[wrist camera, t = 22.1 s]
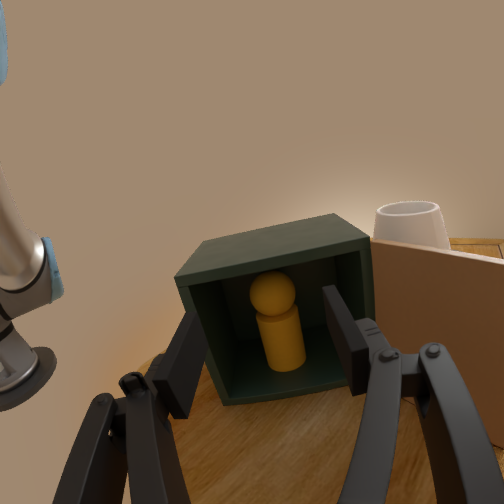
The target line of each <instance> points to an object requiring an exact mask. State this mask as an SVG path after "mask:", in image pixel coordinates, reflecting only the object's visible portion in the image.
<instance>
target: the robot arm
mask: <svg viewBox="0 0 504 504" xmlns="http://www.w3.org/2000/svg"><path fill="white" fill-rule="evenodd" d="M7 68H8V57H7V35H6V25H5V18H4V12H3V7H2V3H1V0H0V85H2V84H3V83H4V81H5V79H6V76H7ZM322 290H323V298H324V305H325V313H326V321H327V327H328V329H329V332H330V335H331V337H332V340H333V343H334V345H335V348H336V351H337V354H338V356H339V359H340V362H341V365H342V368H343V370H344V373H345V376H346V379H347V382H348V385H349V388H350V391H351V393H352V396H357V395H360V394H364V393H367V394H366V399H365V404H364V409H363V414H362V419H361V423H360V428H359V432H358V436H357V440H356V444H355V448H354V452H353V455H352V459H351V462H350V466H349V469H348V472H347V476H346V479H345V482H344V485H343V488H342V491H341V494H340V497H339V500H338V502H337V504H385V499H386V495H387V491H388V486H389V482H390V477H391V471H392V466H393V460H394V454H395V447H396V440H397V432H398V423H399V412H400V399H401V398H405V397H413V398H414V402H415V405H416V409H417V412H418V416H419V419H420V423H421V427H422V431H423V435H424V439H425V443H426V447H427V451H428V456H429V460H430V465H431V470H432V475H433V481H434V486H435V492H436V499H437V504H504V480H503V477H502V474H501V470H500V467H499V464H498V461H497V458H496V455H495V452H494V450H493V447H492V444H491V442H490V439H489V436H488V434H487V431H486V429H485V426H484V424H483V422H482V419H481V417H480V415H479V412H478V410H477V408H476V406H475V403H474V401H473V399H472V397H471V395H470V393H469V391H468V389H467V387H466V385H465V383H464V381H463V379H462V377H461V375H460V373H459V371H458V369H457V367H456V365H455V363H454V361H453V360H452V358H451V356H450V354H449V352H448V350H447V349H446V347H445V346H444V345H442V344H440V343H435V342H433V343H427V344H425V345H423V346H422V347H421V348H420V350H419V353H415V354H401V352H400V351H399V350H398V349H396V348H394V347H391V346H390V344H389V343H388V341H387V339H386V338H385V336H384V335H383V333H382V332H381V330H380V329H379V328H378V326H377V324H376V323H375V321H373V320H371V319H370V318H364V319H360V320H356V321H354V319H353V317H352V315H351V313H350V312H349V310H348V308H347V306H346V304H345V303H344V301H343V299H342V297H341V296H340V294H339V292H338V290H337V289H336V287H335V285H330V286H326V287H322ZM63 293H64V288H63V284H62V281H61V277H60V274H59V271H58V267H57V262H56V259H55V255H54V251H53V247H52V243H51V240H50V238H49V237H45V238H44V237H43V238H40V237H39V236H38V235H37V234H36V233H35V232H34V231H32V230H29V229H26V227H25V225H24V223H23V220H22V218H21V216H20V213H19V211H18V209H17V206H16V204H15V201H14V199H13V196H12V194H11V191H10V189H9V186H8V183H7V181H6V178H5V175H4V172H3V169H2V166H1V163H0V395H2V394H6V393H9V392H11V391H13V390H15V389H17V388H18V387H20V386H21V385H23V384H24V383H25V382H26V381H27V380H28V379H29V378H30V377H31V376H32V375H33V374H34V373H35V371H36V370H37V368H38V366H39V362H40V361H39V358H38V356H37V354H36V352H35V351H34V350H33V349H32V348H31V347H30V346H29V345H28V344H27V342H26V341H25V340H24V339H23V338H22V337H21V336H20V335H19V333H18V332H17V331H16V330H15V328H14V326H13V324H12V321H11V320H12V319H14V318H16V317H18V316H20V315H23V314H25V313H27V312H29V311H32V310H34V309H36V308H38V307H41V306H43V305H45V304H48V303H49V304H51V303H52V302H53V301H54V300H56V299H58V298H60V297H61V296H62V295H63ZM208 347H209V345H208V342H207V340H206V337H205V334H204V331H203V329H202V326H201V323H200V320H199V317H198V314H197V311H194V312H188V313H185V315H184V317H183V319H182V321H181V322H180V324H179V326H178V328H177V330H176V332H175V334H174V336H173V338H172V340H171V342H170V344H169V346H168V348H167V350H166V352H165V354H159V355H158V356H157V357H155V358H154V359H153V361H152V363H151V365H150V367H149V369H148V371H147V372H146V374H145V376H144V377H143V375H142V374H141V373H140V372H131V373H128V374H126V375H125V376H123V377H122V378H121V379H120V380H119V385H120V387H121V389H122V390H123V392H124V394H125V395H126V397H123V398H118V399H114V398H113V396H112V395H111V394H110V393H102V394H99V395H97V396H96V397H95V398H94V399H93V400H92V402H91V404H90V406H89V409H88V411H87V413H86V416H85V418H84V420H83V422H82V425H81V427H80V430H79V432H78V434H77V437H76V439H75V442H74V444H73V447H72V449H71V452H70V454H69V458H68V460H67V462H66V465H65V468H64V471H63V473H62V476H61V479H60V482H59V485H58V488H57V491H56V494H55V497H54V500H53V503H52V504H122V499H123V494H124V488H125V483H126V477H127V473H128V476H129V487H130V496H131V504H191V502H190V498H189V495H188V492H187V488H186V485H185V481H184V477H183V474H182V470H181V466H180V462H179V458H178V454H177V450H176V446H175V441H174V437H173V432H172V427H171V423H170V421H169V420H168V415H169V412H170V413H171V415H172V417H173V418H174V419H188V417H189V413H190V410H191V406H192V403H193V399H194V396H195V392H196V389H197V385H198V382H199V378H200V375H201V371H202V368H203V364H204V361H205V358H206V354H207V351H208ZM109 430H110V435H108V432H109Z"/></svg>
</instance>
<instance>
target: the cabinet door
mask: <svg viewBox="0 0 504 504" xmlns="http://www.w3.org/2000/svg"><path fill="white" fill-rule="evenodd" d="M370 244H371V254H372V265H373V277H374V293H375V316H376V324H377V326H378V328H379V329H380V330H381V332H382V333H383V335H384V336H385V338H386V339H387V341H388V343H389V344H390V346H391V347H394V348H396V349H398V350H399V351H400V352H401V354H415V353H419V350H420V348H421V347H422V346H423V345H425V344H427V343H433V342H435V343H440V344H442V345H444V346H445V347H446V349H447V350H448V352H449V354H450V356H451V358H452V360H453V361H454V363H455V365H456V367H457V369H458V371H459V373H460V375H461V377H462V379H463V381H464V383H465V385H466V387H467V389H468V391H469V393H470V395H471V397H472V399H473V401H474V403H475V406H476V408H477V410H478V412H479V415H480V417H481V419H482V422H483V424H484V426H485V429H486V431H487V434H488V436H489V439H490V442H491V443H492V444H494V445H496V446H499V447H501V448H503V449H504V259H498V258H493V257H487V256H482V255H476V254H471V253H465V252H459V251H453V250H447V249H441V248H435V247H429V246H422V245H416V244H409V243H403V242H396V241H389V240H382V239H374V240H372V241H370ZM403 399H405V400H407V401H409V402H410V403H412V404H414V405H415V402H414V398H413V397H405V398H403Z"/></svg>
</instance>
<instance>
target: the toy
mask: <svg viewBox="0 0 504 504" xmlns="http://www.w3.org/2000/svg"><path fill="white" fill-rule="evenodd" d="M295 293H296V292H295V287H294V284H293V282H292V280H291V279H290V278H289V277H288V276H287V275H286V274H284V273H282V272H279V271H273V270H272V271H266V272H263V273H261V274H260V275H258V276H257V277H256V278H255V279H254V281H253V282H252V284H251V287H250V300H251V303H252V305H253V306H254V308H255V309H256V310H257V311H258V312H257V313H256V319H257V323H258V327H259V331H260V335H261V338H262V342H263V346H264V350H265V354H266V357H267V361H268V365H269V366H270V368H272V369H273V370H275V371H280V372H287V371H291V370H294V369H297V368H298V367H300V366H301V365H302V364H303V363H304V362H305V360H306V352H305V347H304V341H303V335H302V329H301V324H300V318H299V313H298V307H297V306H296V304H294V300H295Z"/></svg>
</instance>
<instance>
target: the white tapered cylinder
mask: <svg viewBox="0 0 504 504" xmlns="http://www.w3.org/2000/svg"><path fill="white" fill-rule="evenodd" d="M374 239H382V240H389V241H396V242H403V243H409V244H416V245H422V246H429V247H435V248H441V249H447V250H451V247H450V243H449V239H448V235H447V231H446V227H445V224H444V220H443V217H442V214H441V210H440V207H439V206H438V205H437V204H436V203H433V202H429V201H404V202H397V203H392V204H388V205H385V206H382V207H380V208H379V209H377V210H376V219H375V228H374V236H373V240H374Z"/></svg>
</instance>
